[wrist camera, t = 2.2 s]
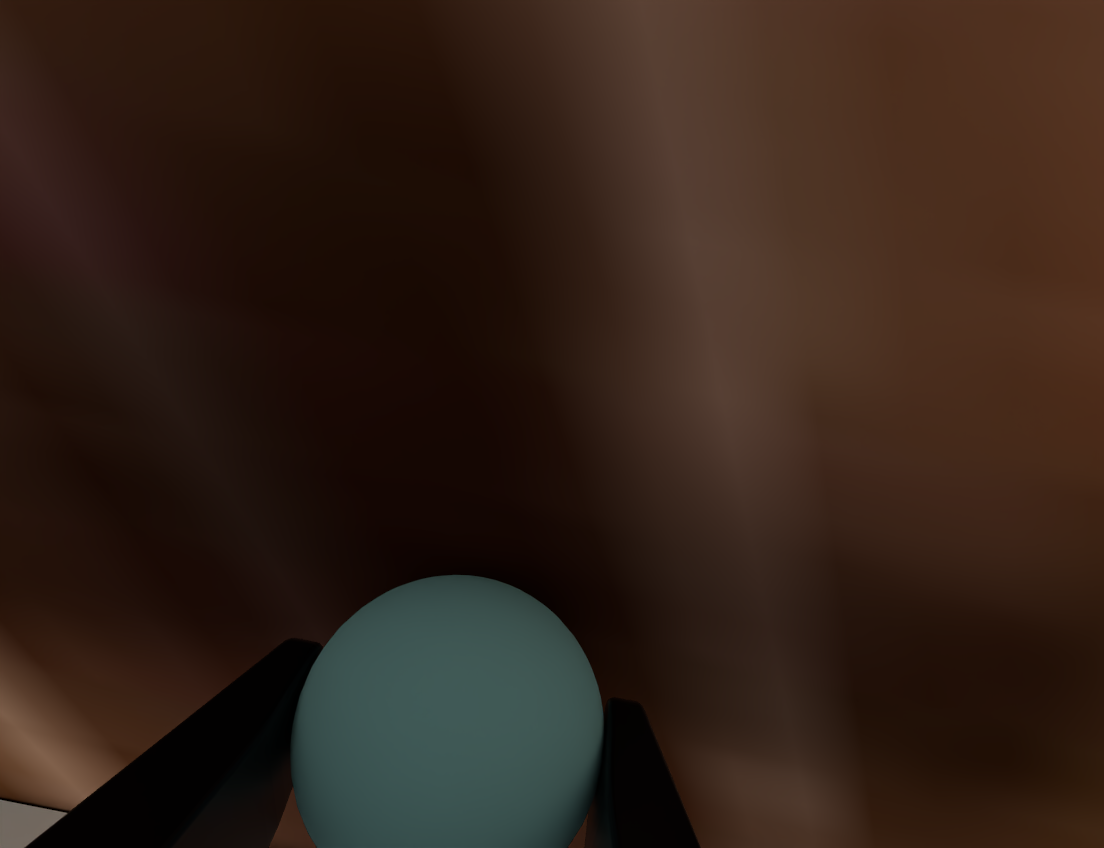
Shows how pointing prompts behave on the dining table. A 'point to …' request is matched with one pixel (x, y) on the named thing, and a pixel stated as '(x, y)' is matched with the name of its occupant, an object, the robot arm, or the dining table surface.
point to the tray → (24, 823)
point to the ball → (448, 723)
